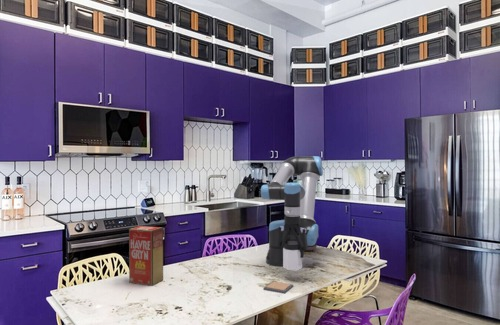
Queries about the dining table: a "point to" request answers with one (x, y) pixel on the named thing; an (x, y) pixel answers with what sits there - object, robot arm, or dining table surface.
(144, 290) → the dining table surface
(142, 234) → the food packaging
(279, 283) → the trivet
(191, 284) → the dining table surface
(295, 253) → the jar
